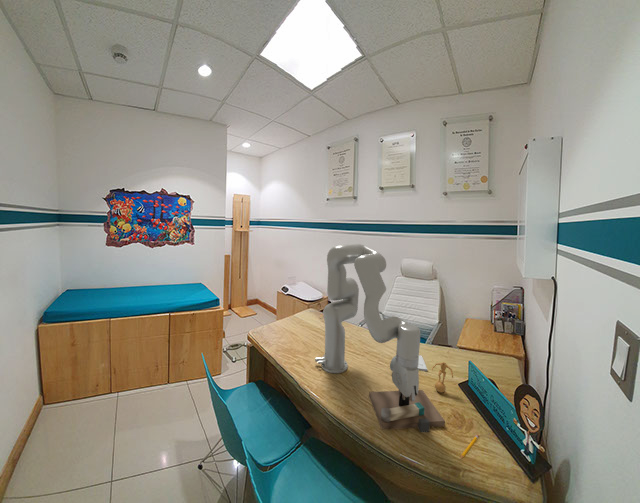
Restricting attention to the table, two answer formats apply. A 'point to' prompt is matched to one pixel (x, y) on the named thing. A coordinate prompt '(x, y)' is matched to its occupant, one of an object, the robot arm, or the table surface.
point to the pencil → (469, 446)
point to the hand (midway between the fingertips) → (403, 406)
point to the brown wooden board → (392, 400)
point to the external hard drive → (421, 364)
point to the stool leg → (402, 412)
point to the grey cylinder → (392, 363)
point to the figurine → (440, 385)
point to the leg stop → (423, 425)
